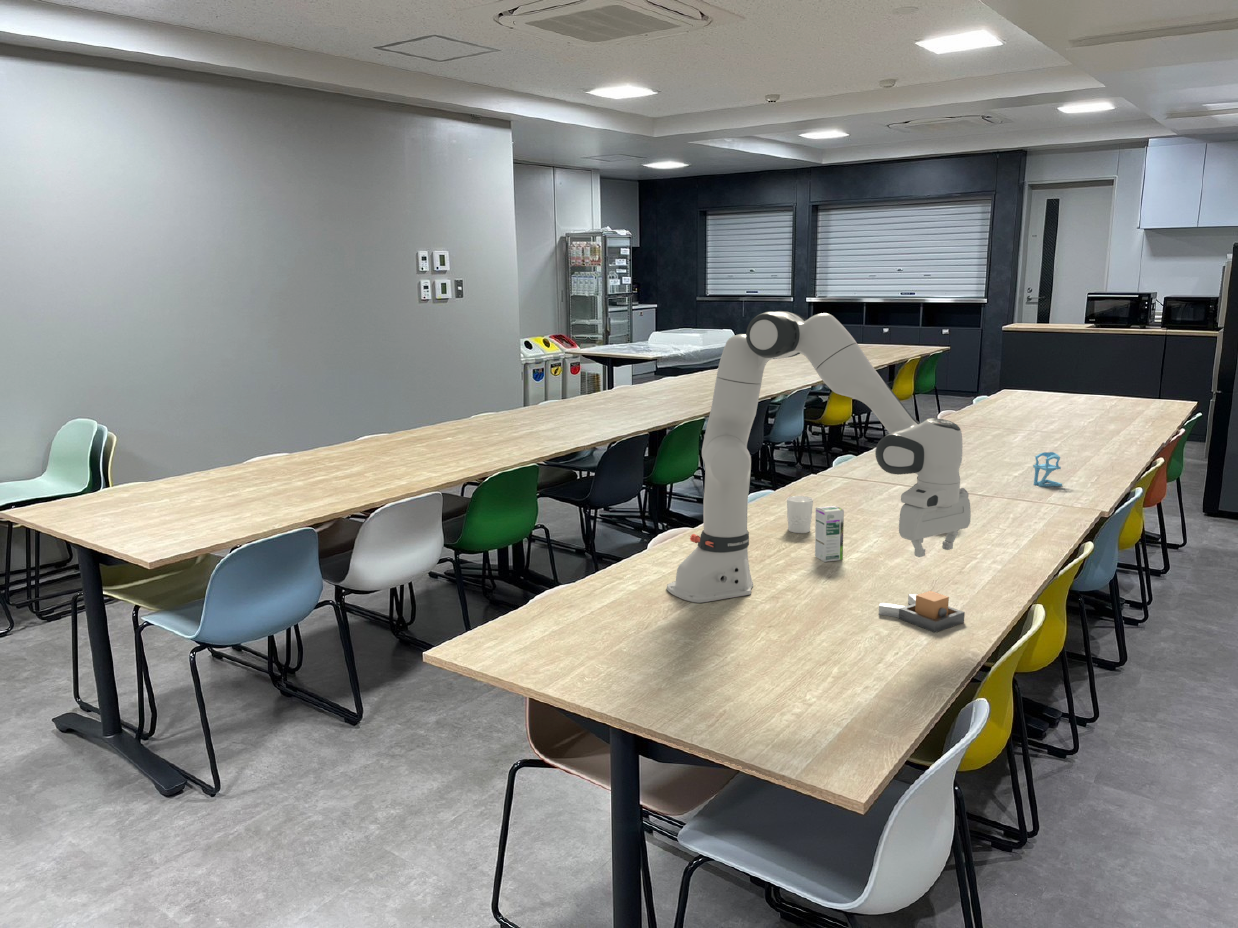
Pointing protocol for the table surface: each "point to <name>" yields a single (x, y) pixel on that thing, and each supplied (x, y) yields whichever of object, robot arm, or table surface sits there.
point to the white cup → (799, 513)
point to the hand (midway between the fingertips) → (933, 552)
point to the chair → (1046, 469)
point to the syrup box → (829, 533)
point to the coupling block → (932, 604)
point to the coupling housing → (920, 620)
